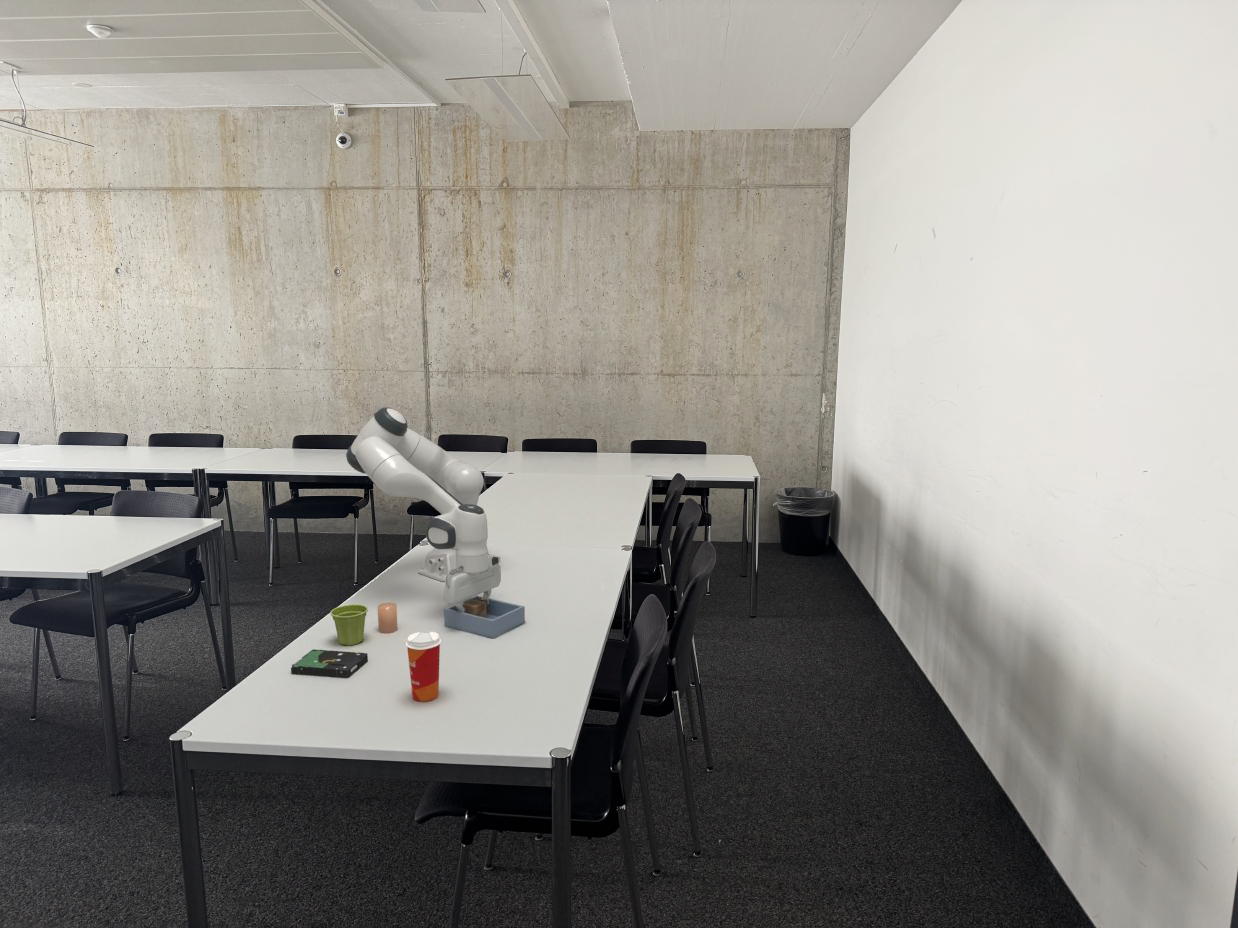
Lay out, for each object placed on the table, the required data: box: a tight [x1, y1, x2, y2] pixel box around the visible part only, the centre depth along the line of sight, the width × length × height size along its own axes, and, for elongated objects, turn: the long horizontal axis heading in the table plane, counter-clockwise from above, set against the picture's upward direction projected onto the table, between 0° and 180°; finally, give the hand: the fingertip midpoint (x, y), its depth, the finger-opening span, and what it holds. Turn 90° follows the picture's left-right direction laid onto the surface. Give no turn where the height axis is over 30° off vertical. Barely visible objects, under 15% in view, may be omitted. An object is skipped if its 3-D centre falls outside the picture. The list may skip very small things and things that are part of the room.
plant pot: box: [329, 604, 369, 646], centre depth 206 cm, size 9×9×9 cm
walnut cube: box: [462, 599, 487, 618], centre depth 220 cm, size 5×5×5 cm
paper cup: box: [405, 631, 442, 703], centre depth 174 cm, size 8×8×14 cm
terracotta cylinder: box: [377, 602, 399, 635], centre depth 214 cm, size 5×5×7 cm
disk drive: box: [290, 649, 369, 679], centre depth 190 cm, size 10×3×15 cm
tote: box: [443, 595, 526, 640], centre depth 218 cm, size 18×14×5 cm
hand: (473, 609), depth 220 cm, fingers open, 8 cm apart
